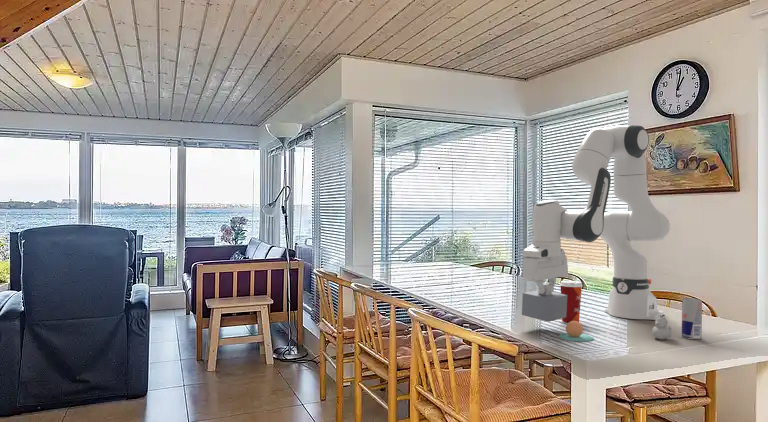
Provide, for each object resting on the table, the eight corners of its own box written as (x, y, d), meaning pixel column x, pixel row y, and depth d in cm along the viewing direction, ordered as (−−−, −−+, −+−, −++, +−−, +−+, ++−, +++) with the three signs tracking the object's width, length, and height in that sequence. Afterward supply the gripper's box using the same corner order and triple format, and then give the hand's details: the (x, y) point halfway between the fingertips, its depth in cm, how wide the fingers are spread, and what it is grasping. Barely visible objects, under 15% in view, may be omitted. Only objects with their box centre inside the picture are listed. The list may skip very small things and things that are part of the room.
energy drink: (680, 335, 168) (681, 297, 168) (699, 336, 166) (700, 298, 166) (683, 338, 163) (683, 300, 163) (703, 340, 161) (703, 301, 161)
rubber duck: (646, 338, 164) (647, 312, 164) (661, 336, 167) (662, 310, 167) (662, 342, 159) (662, 315, 159) (677, 340, 162) (677, 314, 162)
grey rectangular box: (539, 310, 180) (541, 280, 179) (566, 317, 172) (567, 285, 172) (521, 314, 174) (523, 283, 173) (548, 321, 166) (550, 288, 165)
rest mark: (570, 332, 170) (570, 331, 170) (599, 338, 163) (599, 337, 163) (552, 336, 164) (552, 336, 164) (582, 343, 156) (582, 342, 156)
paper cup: (583, 324, 182) (584, 283, 182) (560, 323, 184) (561, 282, 184) (580, 319, 190) (580, 280, 190) (557, 318, 191) (558, 279, 191)
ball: (587, 323, 163) (584, 339, 164) (573, 317, 167) (570, 332, 167) (578, 325, 160) (574, 341, 161) (564, 319, 164) (560, 334, 164)
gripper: (556, 247, 181) (555, 287, 181) (519, 251, 168) (519, 294, 168) (572, 248, 176) (572, 290, 176) (536, 252, 163) (536, 297, 163)
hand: (546, 292), depth 172 cm, fingers closed on grey rectangular box, 3 cm apart
